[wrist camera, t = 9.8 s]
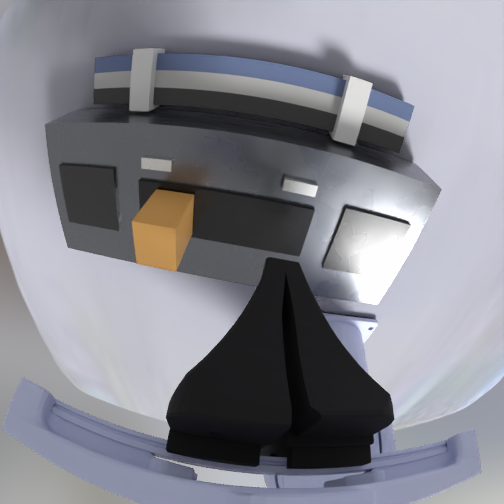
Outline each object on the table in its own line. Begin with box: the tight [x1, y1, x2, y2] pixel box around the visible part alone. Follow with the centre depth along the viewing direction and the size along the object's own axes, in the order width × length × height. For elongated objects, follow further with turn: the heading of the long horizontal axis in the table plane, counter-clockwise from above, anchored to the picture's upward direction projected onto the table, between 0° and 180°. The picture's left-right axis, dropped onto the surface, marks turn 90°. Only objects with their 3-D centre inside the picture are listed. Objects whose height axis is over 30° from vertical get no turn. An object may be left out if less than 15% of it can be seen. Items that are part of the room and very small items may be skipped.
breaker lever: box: [132, 189, 194, 272], centre depth 13 cm, size 2×2×3 cm
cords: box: [94, 48, 414, 153], centre depth 12 cm, size 4×18×2 cm, turn 81°
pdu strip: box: [45, 108, 441, 304], centre depth 16 cm, size 9×22×4 cm, turn 81°
